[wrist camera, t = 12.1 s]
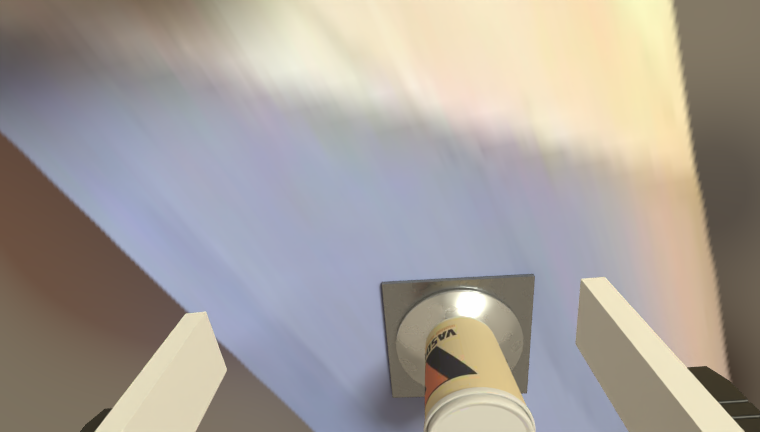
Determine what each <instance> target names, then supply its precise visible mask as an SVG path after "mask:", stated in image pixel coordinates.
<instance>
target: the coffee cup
mask: <svg viewBox="0 0 760 432" xmlns="http://www.w3.org/2000/svg"><path fill="white" fill-rule="evenodd" d="M424 432H535V422H534V419H533V416H532V414H531V412H530V410H529V409H528V407H527V406H526V404H525V402H524V400H523V397H522V395H521V393H520V390H519V388H518V386H517V384H516V381H515V379H514V377H513V375H512V373H511V370H510V368H509V366H508V364H507V362H506V359H505V357H504V355H503V353H502V351H501V349H500V346H499V344H498V342H497V340H496V338H495V336H494V334H493V332H492V331H491V329H490V328H489V327H488V326H487V325H486V324H485V323H483V322H482V321H480V320H478V319H475V318H472V317H467V316H456V317H451V318H447V319H445V320H443V321H441V322H439V323H438V324H437V325H435V326H434V327H433V328H432V330H431V331H430V333H429V334H428V336H427V339H426V345H425V422H424Z"/></svg>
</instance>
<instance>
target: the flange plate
mask: <svg viewBox="0 0 760 432" xmlns="http://www.w3.org/2000/svg"><path fill="white" fill-rule="evenodd" d="M534 281H535V276H534V274H522V275H503V276H484V277H465V278H446V279H427V280H408V281H389V282H382V292H383V302H384V312H385V323H386V333H387V343H388V354H389V364H390V375H391V385H392V395H393V398H396V397H425V345H426V339H427V336H428V334H429V333H430V331H431V330H432V328H433V327H434V326H435V325H437V324H438V323H439V322H441V321H443V320H445V319H447V318H451V317H456V316H467V317H472V318H475V319H478V320H480V321H482V322H483V323H485V324H486V325H487V326H488V327H489V328H490V329H491V331H492V332H493V334H494V336H495V338H496V340H497V342H498V344H499V346H500V349H501V351H502V353H503V355H504V357H505V359H506V362H507V364H508V366H509V368H510V370H511V373H512V375H513V377H514V379H515V381H516V384H517V386H518V388H519V390H520V393H527V384H528V369H529V355H530V340H531V325H532V310H533V295H534Z"/></svg>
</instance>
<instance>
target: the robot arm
mask: <svg viewBox="0 0 760 432" xmlns="http://www.w3.org/2000/svg"><path fill="white" fill-rule="evenodd" d="M576 345H577V347H578V349H579V350H580V352H581V354H582V355H583V357H584V359H585V360H586V362H587V364H588V365H589V367H590V369H591V370H592V372H593V373H594V375H595V377H596V378H597V380H598V382H599V383H600V385H601V387H602V388H603V390H604V392H605V393H606V395H607V397H608V398H609V400H610V402H611V403H612V405H613V406H614V408H615V410H616V411H617V413H618V415H619V416H620V418H621V420H622V421H623V423H624V425H625V426H626V428H627V430H628V431H629V432H760V411H759V410H758V409H757V408H756V407H755V406H754V405H753V404H752V403H749V402H748V399H747V398H746V397H745V396H744V395H743V394H742V393H741V392H740V391H739V390H738V389H737V388H736V387H735V386H734V385H733V384H732V383H731V382H730V381H729V380H727V379H726V378H724V377H723V376H721V375H719V374H718V373H716V372H715V371H713V370H711V369H710V368H708V367H707V366H702V367H686V366H685V365H684V364H683V363H682V362H681V361H680V360H679V359H678V358H677V356H676V355H675V354H674V353H673V352H672V351H671V350H670V349H669V348H668V346H667V345H666V344H665V343H664V342H663V341H662V340H661V339H660V338H659V337H658V335H657V334H656V333H655V332H654V331H653V330H652V329H651V328H650V327H649V325H648V324H647V323H646V322H645V321H644V320H643V319H642V318H641V317H640V315H639V314H638V313H637V312H636V311H635V310H634V309H633V308H632V307H631V306H630V304H629V303H628V302H627V301H626V300H625V299H624V298H623V297H622V296H621V294H620V293H619V292H618V291H617V290H616V289H615V288H614V287H613V286H612V285H611V283H610V282H609V281H608V280H607V279H606V278H605V277H598V278H587V279H581V284H580V296H579V308H578V320H577V332H576ZM226 371H227V369H226V366H225V363H224V361H223V357H222V355H221V352H220V349H219V346H218V344H217V341H216V338H215V335H214V333H213V330H212V327H211V324H210V321H209V319H208V316H207V313H206V312H198V313H187V314H185V315H184V317H183V318H182V319H181V321H180V322H179V323H178V324H177V326H176V327H175V328H174V330H173V331H172V332H171V334H170V335H169V336H168V337H167V339H166V340H165V341H164V342H163V344H162V345H161V346H160V348H159V349H158V350H157V352H156V353H155V354H154V356H153V357H152V358H151V360H150V361H149V362H148V363H147V365H146V366H145V367H144V368H143V370H142V371H141V372H140V374H139V375H138V376H137V378H136V379H135V380H134V381H133V383H132V384H131V385H130V387H129V388H128V389H127V391H126V392H125V393H124V394H123V396H122V397H121V398H120V400H119V401H118V402H117V403H116V405H115V406H114V407H113V408H111V409H104V410H103V411H102V412H100V413H99V414H98V415H97V416H96V417H94V418H93V419H92V420H91V421H90V422H88V423H87V424H86V425H85V426H84V427H83V429H82V430H81V431H80V432H196V430H197V428H198V426H199V424H200V422H201V420H202V418H203V416H204V414H205V412H206V410H207V408H208V406H209V404H210V402H211V400H212V398H213V396H214V394H215V392H216V390H217V389H218V387H219V385H220V383H221V381H222V379H223V377H224V375H225V373H226Z"/></svg>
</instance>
